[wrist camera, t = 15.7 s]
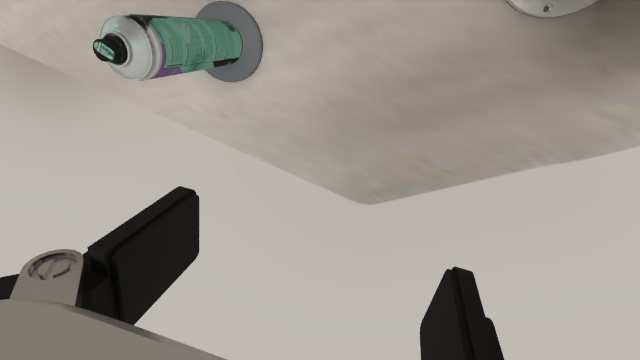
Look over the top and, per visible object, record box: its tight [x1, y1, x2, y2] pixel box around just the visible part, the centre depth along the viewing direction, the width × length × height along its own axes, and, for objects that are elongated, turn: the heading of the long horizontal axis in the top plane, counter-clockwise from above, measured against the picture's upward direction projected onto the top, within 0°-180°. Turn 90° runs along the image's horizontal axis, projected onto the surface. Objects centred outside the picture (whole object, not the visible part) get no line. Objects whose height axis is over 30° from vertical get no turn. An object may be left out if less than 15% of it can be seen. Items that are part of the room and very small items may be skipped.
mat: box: [196, 1, 263, 82], centre depth 43 cm, size 10×10×1 cm
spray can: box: [93, 14, 245, 81], centre depth 34 cm, size 6×6×20 cm
